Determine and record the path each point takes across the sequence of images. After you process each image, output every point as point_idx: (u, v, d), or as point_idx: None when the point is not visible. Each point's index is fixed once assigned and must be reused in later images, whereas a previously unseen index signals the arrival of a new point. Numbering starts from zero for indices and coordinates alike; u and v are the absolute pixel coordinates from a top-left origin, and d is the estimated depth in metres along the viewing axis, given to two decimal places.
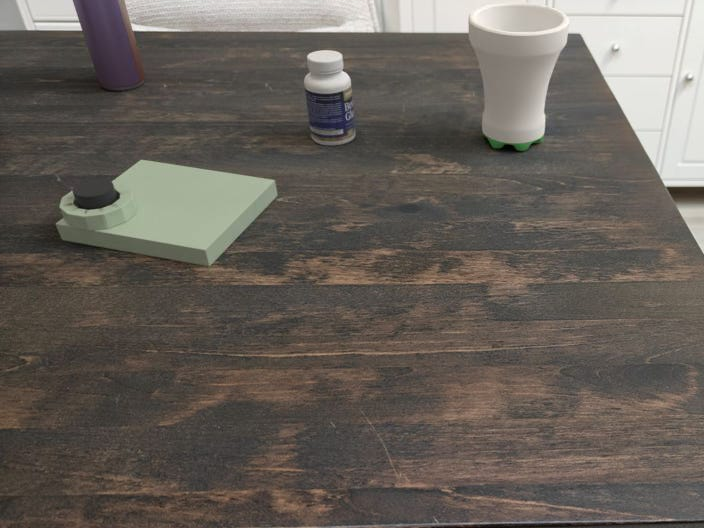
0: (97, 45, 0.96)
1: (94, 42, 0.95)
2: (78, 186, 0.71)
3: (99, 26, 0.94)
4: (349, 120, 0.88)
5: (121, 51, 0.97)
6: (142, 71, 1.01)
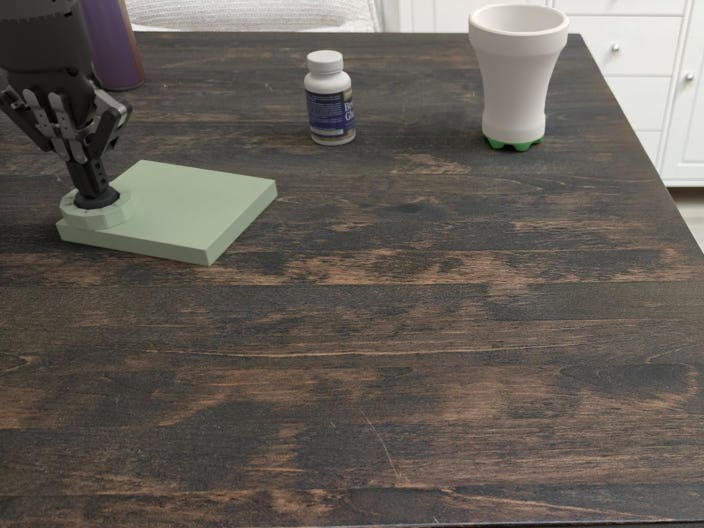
0: (97, 45, 0.96)
1: (94, 42, 0.95)
2: None
3: (99, 26, 0.94)
4: (349, 120, 0.88)
5: (121, 51, 0.97)
6: (142, 71, 1.01)
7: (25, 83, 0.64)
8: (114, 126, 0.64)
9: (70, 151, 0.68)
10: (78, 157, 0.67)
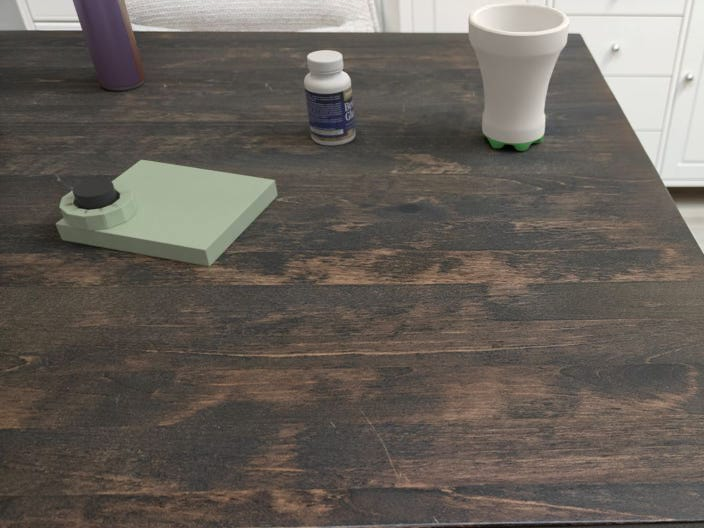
0: (97, 45, 0.96)
1: (94, 42, 0.95)
2: (78, 186, 0.71)
3: (99, 26, 0.94)
4: (349, 120, 0.88)
5: (121, 51, 0.97)
6: (142, 71, 1.01)
7: None
8: None
9: None
10: None
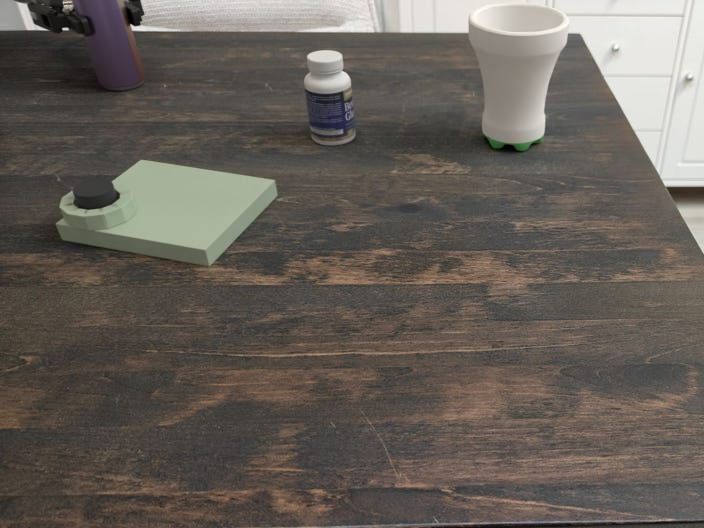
0: (96, 45, 0.95)
1: (94, 43, 0.95)
2: (78, 186, 0.71)
3: (99, 26, 0.94)
4: (349, 120, 0.88)
5: (121, 51, 0.97)
6: (142, 70, 1.01)
7: None
8: None
9: (73, 12, 0.95)
10: None
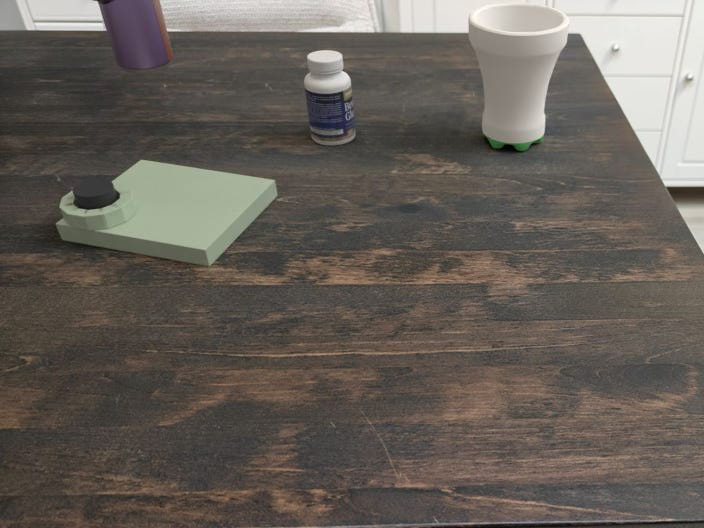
0: (115, 16, 0.76)
1: (112, 12, 0.76)
2: (78, 186, 0.71)
3: None
4: (349, 120, 0.88)
5: (145, 24, 0.77)
6: (170, 49, 0.82)
7: None
8: None
9: None
10: None
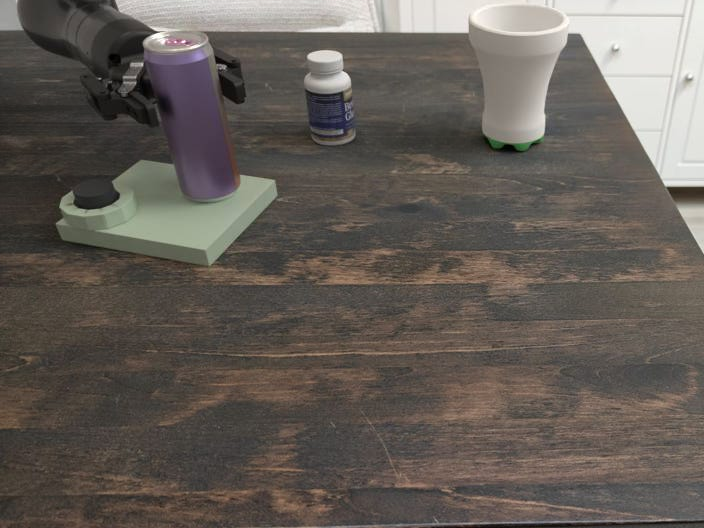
0: (184, 148, 0.70)
1: (181, 144, 0.70)
2: (78, 186, 0.71)
3: (189, 123, 0.69)
4: (349, 120, 0.88)
5: (215, 154, 0.71)
6: (238, 174, 0.76)
7: None
8: None
9: None
10: (219, 64, 0.73)
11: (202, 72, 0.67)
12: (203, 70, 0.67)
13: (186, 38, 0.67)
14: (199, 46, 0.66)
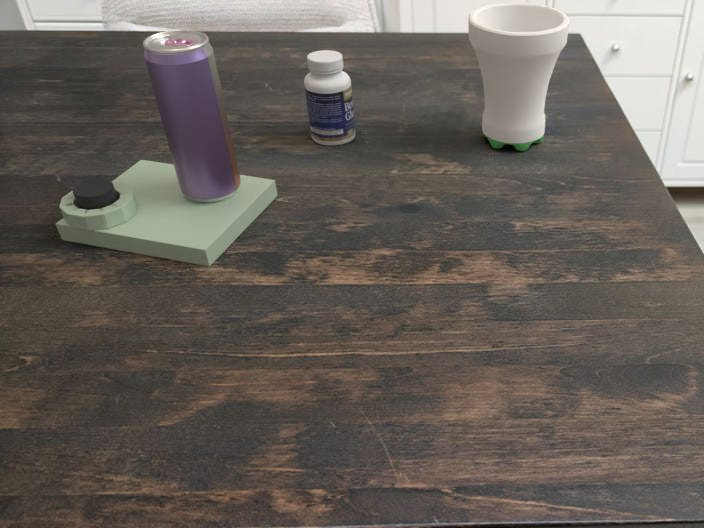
0: (184, 148, 0.70)
1: (181, 144, 0.70)
2: (78, 186, 0.71)
3: (189, 123, 0.69)
4: (349, 120, 0.88)
5: (215, 154, 0.71)
6: (239, 174, 0.76)
7: None
8: None
9: None
10: None
11: (202, 72, 0.67)
12: (203, 70, 0.67)
13: (186, 37, 0.67)
14: (199, 46, 0.66)
